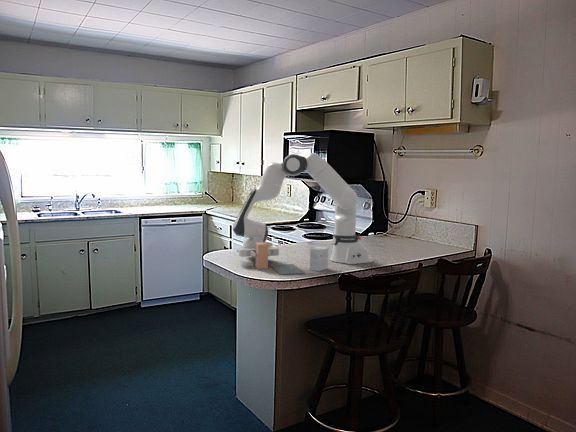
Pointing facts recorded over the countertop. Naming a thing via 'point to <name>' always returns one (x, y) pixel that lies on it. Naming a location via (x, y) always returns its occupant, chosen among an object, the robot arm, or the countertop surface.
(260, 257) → the terracotta block
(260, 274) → the countertop surface
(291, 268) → the mat
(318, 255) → the small box
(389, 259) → the countertop surface
